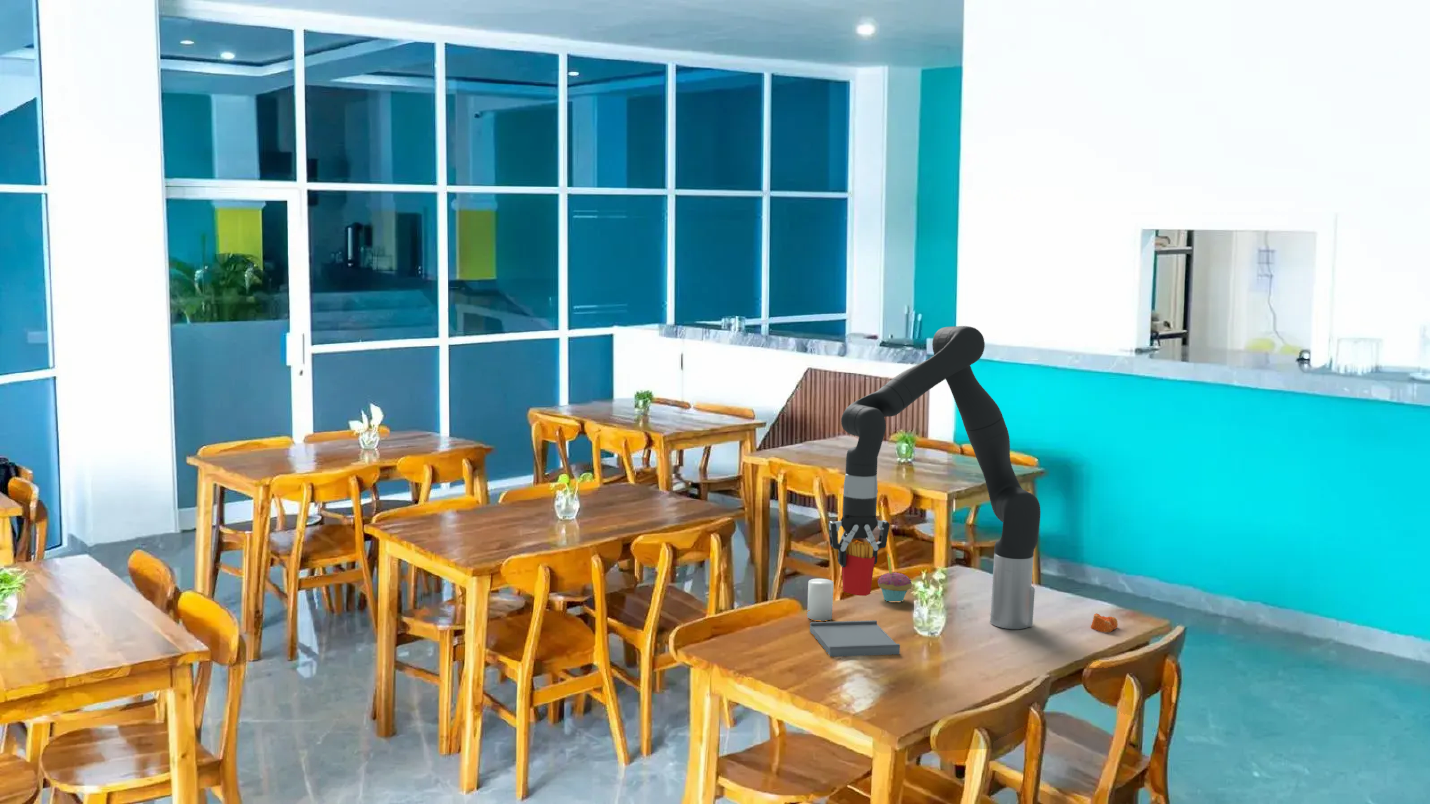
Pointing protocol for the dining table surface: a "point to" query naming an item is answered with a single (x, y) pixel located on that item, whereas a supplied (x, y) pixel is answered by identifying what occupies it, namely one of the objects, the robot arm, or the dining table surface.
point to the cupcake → (894, 585)
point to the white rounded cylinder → (820, 599)
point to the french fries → (858, 568)
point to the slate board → (853, 638)
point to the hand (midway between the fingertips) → (857, 565)
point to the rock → (1104, 623)
